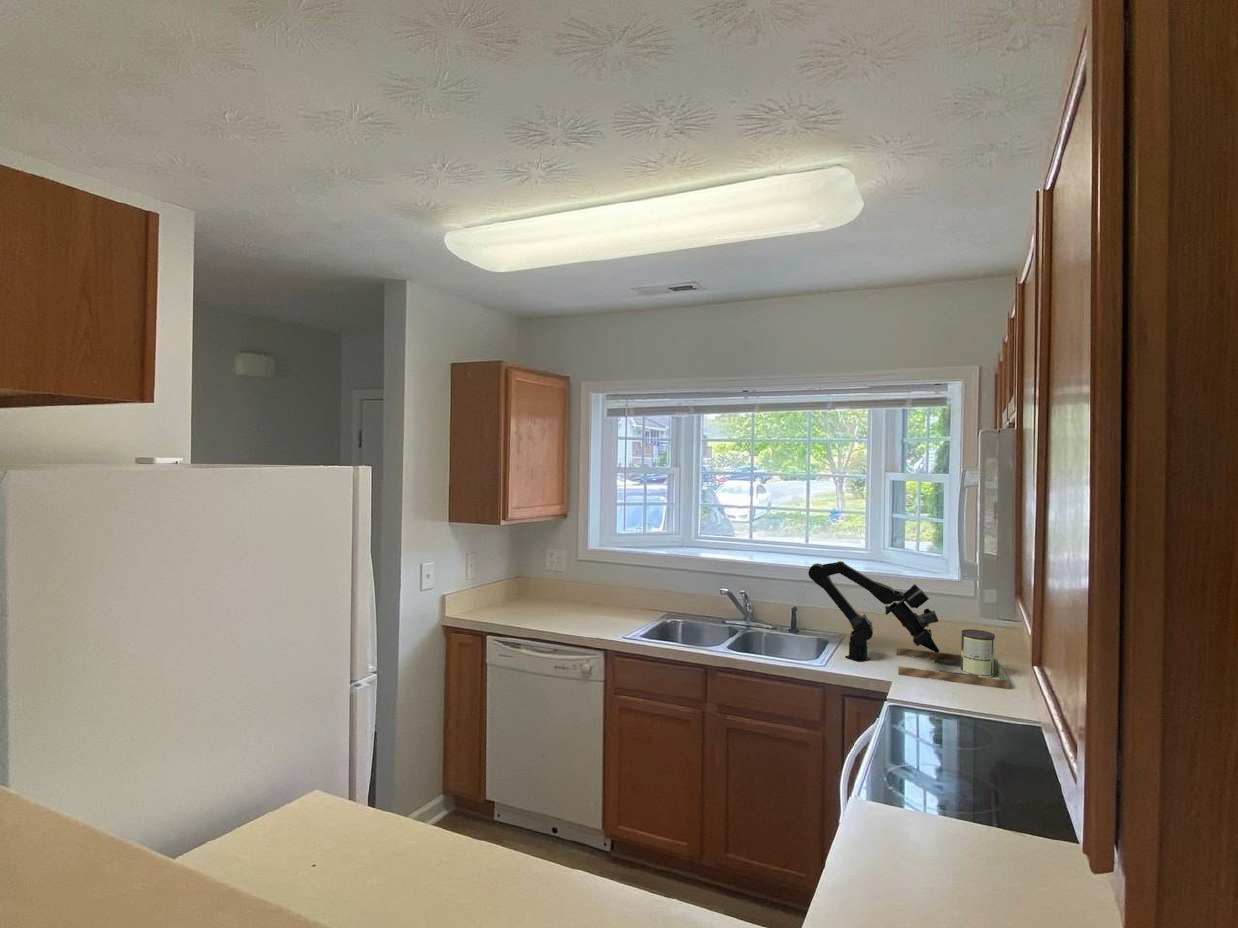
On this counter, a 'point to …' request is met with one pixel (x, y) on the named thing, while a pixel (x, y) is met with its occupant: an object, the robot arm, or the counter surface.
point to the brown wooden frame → (951, 676)
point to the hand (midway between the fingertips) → (938, 651)
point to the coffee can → (977, 653)
